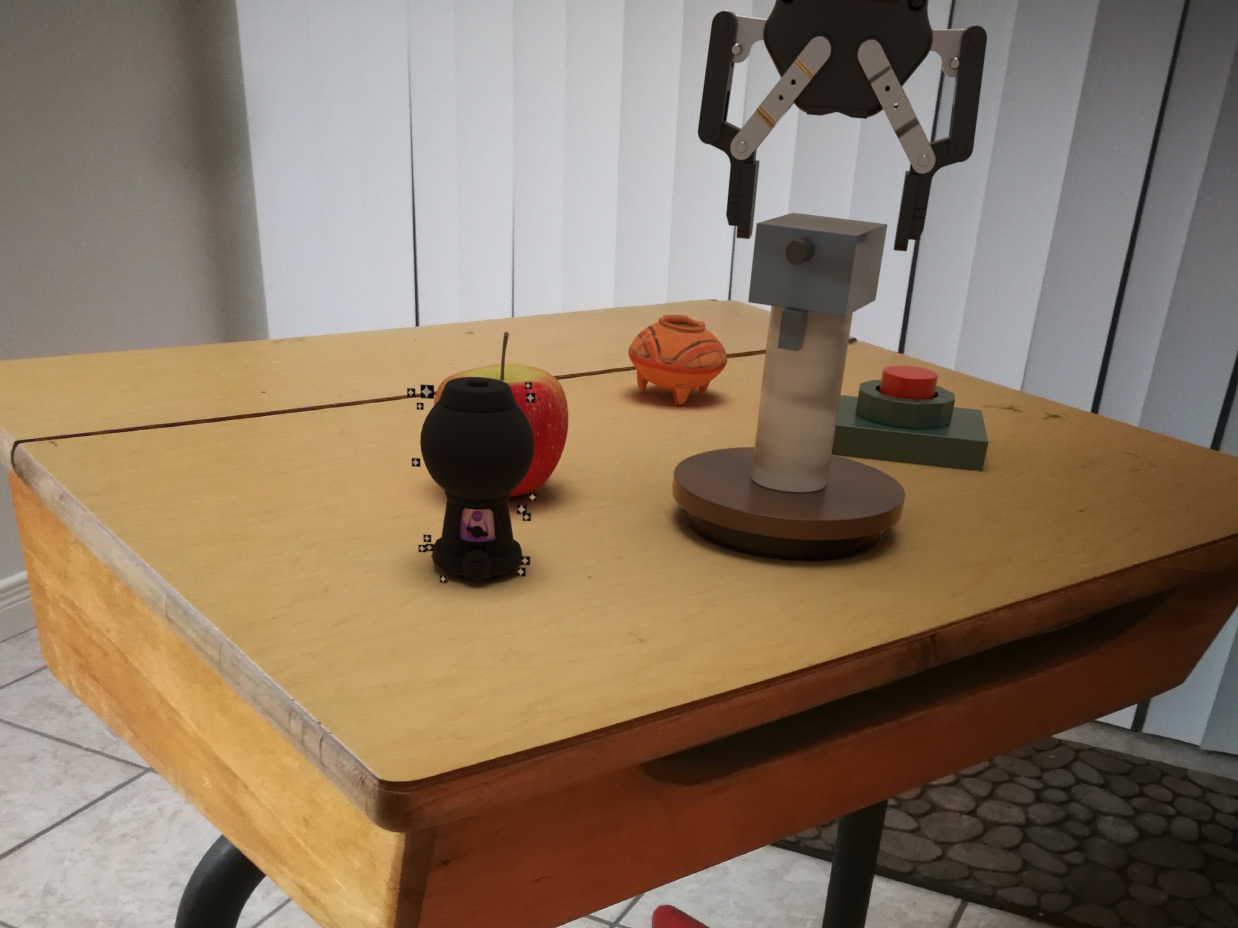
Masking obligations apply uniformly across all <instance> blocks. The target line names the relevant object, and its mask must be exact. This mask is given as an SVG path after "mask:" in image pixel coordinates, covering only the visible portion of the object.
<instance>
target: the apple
mask: <svg viewBox="0 0 1238 928" xmlns="http://www.w3.org/2000/svg"><path fill="white" fill-rule="evenodd" d="M509 336H510V334H509V331H505V332H503V339H502V347H501V348H502V350H501V363H498V364H490V365H484V366H480V367H475V368H470V369H467V370H463V371H459V372H456V373H454V374H450V375H449V376H447V377H446V378H445V379H443V380H442V381H441V382H440V384H439V386H438V387H437V390H436V393H435V395H434V399H433V400H434V402H433V406H434V405H435V404H436V403H437V402H438V401H439V398H440V396H441V393H442V391H443V389H444V386H445V384H446V383H447V382H448V381H449V380H452V379H456V378H461V377H485V378H492V379H497V380H501V381H504V382H505V383H507V384H508V385H509V386H510V388H511V391H512V393H513V396H514V398H515V401H516V403H517V405H518V406H519V407H520V408H521V409H522V411H523V412H524V414H525V416H526V417H527V419H528V421H529V423H530V425H531V428H532V431H533V436H534V445H535V448H534V456H533V460H532V464H531V466H530V468H529V470H528V472H527V474H526V476H525V478H524V479H523V481H522V482H521V483H520V484H519V485H518V486H517V487H516V488H515V489H514V490H513V491H511V492H510V496H509V498H514V497H519V496H523V495H526V494H529V493H532V492H534V491H535V490H538V489H539V488H540V487H542V486H543V485H544V484H545V483H546V482H547V481H548V480H549V479H550V477H551V476H552V474H553V473H554V472H555V470H556V468H557V466H558V464H559V462H560V460H561V458H562V454H563V452H564V449H565V446H566V442H567V438H568V431H569V408H568V407H569V406H568V400H567V396H566V393H565V390H564V387H563V386H562V384H561V382H560V381H559V380H558V379H557V377H555V376H554V375H552V374H551V373H550V372H548V371H547V370H544V369H541V368H539V367H535V366H531V365H527V364H519V363H506V352H507V346H508V342H509V341H508V340H509ZM525 382H532V389H525ZM526 393H536V395H535V403H531V402H526Z"/></svg>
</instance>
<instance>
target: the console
mask: <svg viewBox="0 0 1238 928" xmlns="http://www.w3.org/2000/svg"><path fill="white" fill-rule="evenodd" d="M880 383H881V379H871V380H867V381H864V382H861V383H859V387H858V392H857V393H858V394H857V396H852V395H843V394H841V395H840V402H839V408H838V415H837V422H836V428H835V435H834V441H833V448H832V455H834V456H838V457H847V458H848V457H849V458H856V459H857V458H858V459H865V460H866V459H867V460H875V461H884V462H894V463H902V464H910V465H911V464H912V465H919V466H920V465H921V466H931V467H938V468H947V469H956V470H964V469H966V470H965V471H973V470H978V471H977V472H983V469H984V465H985V461H986V456H987V451H988V447H989V438H988V433H987V429H986V424H985V420H984V416H983V411H982V409H976V408H967V407H957V406H955V403H956V397H955V393H954V392H952V391H950V390H948V389H946V388H944V387H942V386H939V385H936V390H935V396H934V398H933V399H918V400H914V399H905V398H897V397H893V396H889V395H885V394H882V393H880V392H879V389H880Z"/></svg>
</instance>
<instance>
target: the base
mask: <svg viewBox="0 0 1238 928" xmlns="http://www.w3.org/2000/svg"><path fill="white" fill-rule="evenodd" d="M685 513H686V514H685V518H686V523H687V524H688V526H689V528H690V529H691V530H692V531H693V532H694V533H696V534H697V535H699V536H700V537H702V538H703V539H705V540H707V541H708V542H711V543H712V544H715V545H718V546H721V547H723V548H725V549H729V550H733V551H735V552H740V553H743V554H747V555H752V556H757V557H761V558H762V557H763V558H770V559H777V560H784V561H785V560H787V561H800V562H801V561H808V562H809V561H811V562H813V561H815V562H816V561H817V562H818V561H830V560H831V561H832V560H839V559H846V558H851V557H854V556H859V555H861V554H863V553H866V552H869V551H870V550H872V549H874V548H875V547H876V546H877V545H878V544H879V542H880V540H881V537H882V532H883V531H882V532H880V533H877V534H873V535H869V536H864V537H858V538H851V539H842V540H796V539H785V538H775V537H768V536H761V535H756V534H751V533H746V532H742V531H737V530H733V529H730V528H726V527H723V526H720V525H717V524H714V523H711V522H708V521H706V520H704V519H701V518H699V517H697V516H695V515H693V514H691V513H690V512H688V511H686V512H685Z"/></svg>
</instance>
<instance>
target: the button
mask: <svg viewBox="0 0 1238 928" xmlns="http://www.w3.org/2000/svg"><path fill="white" fill-rule="evenodd" d="M938 379H939V374H938V373H937V372H936V371H934V370H931V369H928V368H925V367H919V366H913V365H888V366H885V367H884V368H882V372H881V376H880V380H881V383H880V389H879V392H880V393H882V394H885V395H889V396H893V397H897V398H905V399H914V400H918V399H933V398H934V396H935V390H936V386H938V385H937V384H938Z"/></svg>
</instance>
